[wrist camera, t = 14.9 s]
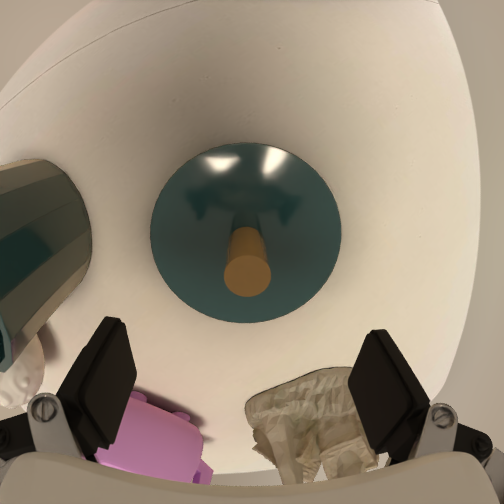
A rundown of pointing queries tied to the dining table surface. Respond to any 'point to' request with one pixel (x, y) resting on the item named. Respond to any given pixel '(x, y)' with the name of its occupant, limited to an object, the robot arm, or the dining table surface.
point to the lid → (245, 232)
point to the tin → (37, 249)
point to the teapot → (157, 444)
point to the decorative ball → (23, 376)
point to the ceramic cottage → (311, 428)
